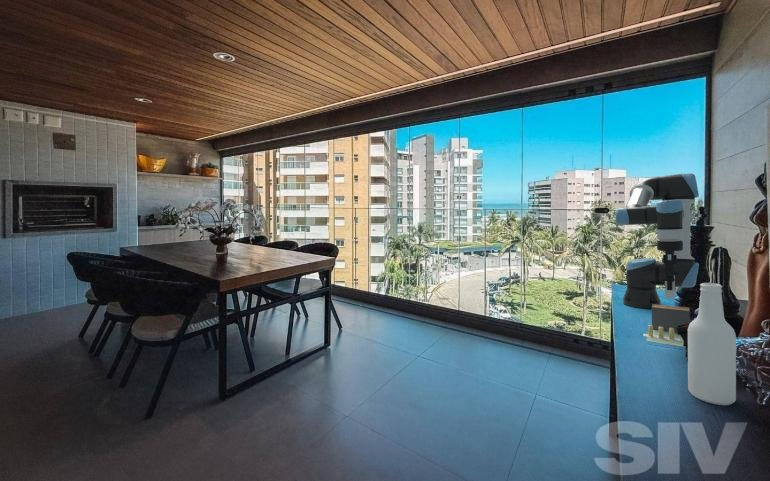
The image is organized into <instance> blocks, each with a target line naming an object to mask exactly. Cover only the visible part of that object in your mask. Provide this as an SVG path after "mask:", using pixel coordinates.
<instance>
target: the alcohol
mask: <svg viewBox="0 0 770 481" xmlns="http://www.w3.org/2000/svg"><path fill="white" fill-rule="evenodd" d="M699 286H700V288H699V290H700V296H699V305H698V313H697V316H696V317H695V318H694V319H693V320H692V321H690V324H689V327H688V361H687V389H688V391H689V393H690V394H691V395H692V396H693V397H695V398H696V399H698V400H700V401H702V402H705V403H708V404H712V405H718V406H730V405H732V404H734V403H735V402H736V401H737V363H736V356H737V336H736V332H735V329H734V328H733V326H731V324H729V323H728V322H727V321H726V319H725V312H724V304H723V303H724V302H723V295H722V293H723V289H722V288H723V285H721V284H720V283H716V282H715V283H714V282H702V283H700V284H699Z"/></svg>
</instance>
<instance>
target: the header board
mask: <svg viewBox="0 0 770 481" xmlns="http://www.w3.org/2000/svg"><path fill="white" fill-rule="evenodd" d="M647 327H648V328H647V333H643V334H642V335H643V336H642V337H646V341H645V342H650V343H651V342H652V343H658V344H664V345H670V346H675V347H682V348H683V347H684V346H683V343H684V341H683V339H682V337H681V336H680V335H678V334H677V333H674V328H669V332H667V331H664V328H663V327H659V330H653V326H652V324H648V325H647ZM648 345H650V346H652V344H649V343H648ZM655 346H657V347H658V345H656V344H655ZM661 347H662V348H664V346H663V345H662V346H661ZM667 348H669V349H670V347H667ZM684 348H685V347H684ZM673 349H676V348H674V347H673ZM679 350H682V349H679Z"/></svg>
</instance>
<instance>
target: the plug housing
mask: <svg viewBox="0 0 770 481" xmlns="http://www.w3.org/2000/svg"><path fill="white" fill-rule="evenodd" d="M689 323H691V310H690V307H684V306H683V307H682V306H675V305H664V304H661V305H656V304H652V308H651V325H652V326H653V330H659V327H663V328H664V331H667V332H669V328H674V333H677V329H676V326H679V325H684V324H689Z"/></svg>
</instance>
